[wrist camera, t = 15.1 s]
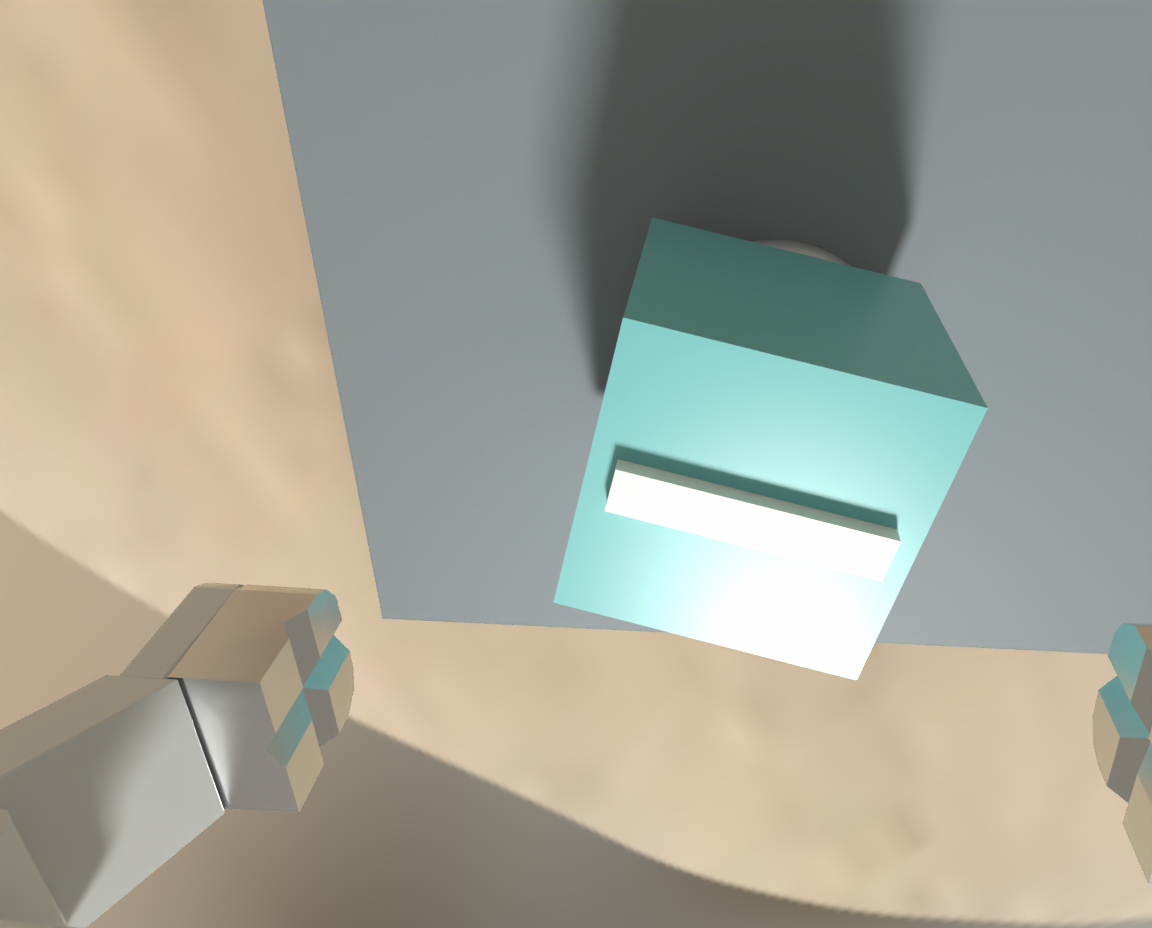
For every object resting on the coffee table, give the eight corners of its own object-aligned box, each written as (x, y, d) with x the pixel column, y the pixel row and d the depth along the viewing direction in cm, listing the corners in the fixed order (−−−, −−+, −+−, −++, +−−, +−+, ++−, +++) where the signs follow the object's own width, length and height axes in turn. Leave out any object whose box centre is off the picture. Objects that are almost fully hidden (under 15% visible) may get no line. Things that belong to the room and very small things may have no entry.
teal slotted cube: (652, 217, 16) (620, 326, 12) (920, 283, 16) (993, 418, 12) (594, 450, 19) (549, 614, 14) (828, 509, 19) (858, 693, 14)
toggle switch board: (1370, -89, 15) (1680, -100, 10) (1154, 622, 21) (1277, 821, 17) (286, -22, 17) (116, -7, 13) (397, 589, 24) (313, 752, 19)
